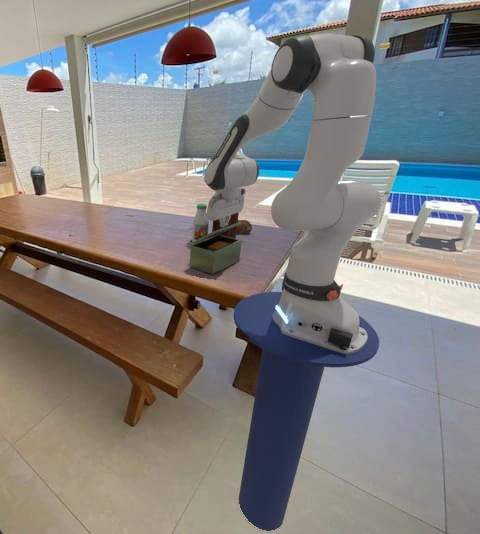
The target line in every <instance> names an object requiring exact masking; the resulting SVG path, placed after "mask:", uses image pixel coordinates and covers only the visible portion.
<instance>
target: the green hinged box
mask: <svg viewBox="0 0 480 534" xmlns="http://www.w3.org/2000/svg"><path fill="white" fill-rule="evenodd" d="M219 241H221V242H226V243H230V244H229V245H227V246H224V247H222V248H220V249H217V250H215V251H212V250H208V246H210V245H212V244H214V243H217V242H219ZM242 241H243V240H242V239H239V238H236V239H235V238H231V237H226V236H222V235H216V236H214V237H211V238H208V239H206V240H203V241H201V242H198V243H195V244H193V245H191V244H190V248H189V249H190V252H189V267H190V268H192V269H195V270H199V271H200V272H204V273H207V274H209V275H215V274H217V273H219V272H220V271H221V272H222V270H225V269H227V268H228V267H231V266H233V265H235V264H236V263H238V262H240V261H241V251H242V250H241V249H242Z"/></svg>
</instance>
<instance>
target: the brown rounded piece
mask: <svg viewBox="0 0 480 534" xmlns="http://www.w3.org/2000/svg"><path fill="white" fill-rule="evenodd" d="M238 222H241V224H239V225H237V233H236V234H250V233H251V231H253V230H252V229H253V227H252V223H251V222H250V221H249V220H247V219H238Z"/></svg>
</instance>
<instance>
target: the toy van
mask: <svg viewBox="0 0 480 534" xmlns="http://www.w3.org/2000/svg"><path fill="white" fill-rule="evenodd" d="M229 244H230V243H226V242H221V241H219V242H217V243H214V244H212V245H210V246H208V250H212V251H215V250H217V249H220V248H222V247H224V246H227V245H229Z"/></svg>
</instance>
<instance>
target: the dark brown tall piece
mask: <svg viewBox="0 0 480 534" xmlns="http://www.w3.org/2000/svg"><path fill="white" fill-rule="evenodd" d="M239 215H240V212H238V213H235V214H232V215H231V218H230V220H229V222H228V226H230V225H233V224H235V223H238V220H239ZM226 227H227V226H226ZM223 228H225V227H223ZM219 229H222V227H220V221H219V219H218V220H215V221H213V220H212V229H211V232H214V231H216V230H219ZM237 234H238V233H237V226H235V227H233V228H231V229H229V230H227V231H225V232H223V233H221V234H219V235H222V236H226V237H231V238H235V239H237ZM213 237H214V236H213Z"/></svg>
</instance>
